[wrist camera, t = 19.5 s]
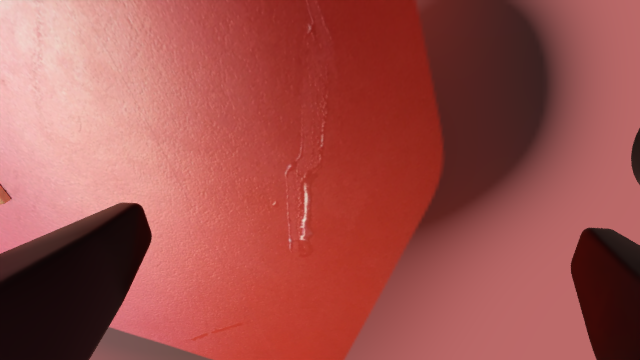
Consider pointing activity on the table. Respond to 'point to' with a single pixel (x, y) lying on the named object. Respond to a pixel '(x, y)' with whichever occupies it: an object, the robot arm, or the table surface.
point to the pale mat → (3, 196)
